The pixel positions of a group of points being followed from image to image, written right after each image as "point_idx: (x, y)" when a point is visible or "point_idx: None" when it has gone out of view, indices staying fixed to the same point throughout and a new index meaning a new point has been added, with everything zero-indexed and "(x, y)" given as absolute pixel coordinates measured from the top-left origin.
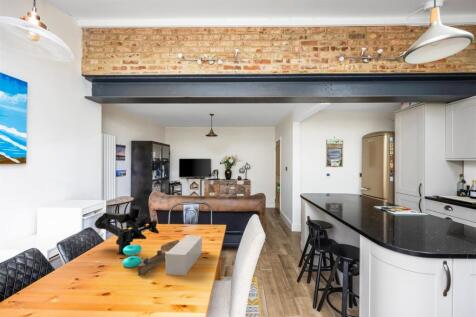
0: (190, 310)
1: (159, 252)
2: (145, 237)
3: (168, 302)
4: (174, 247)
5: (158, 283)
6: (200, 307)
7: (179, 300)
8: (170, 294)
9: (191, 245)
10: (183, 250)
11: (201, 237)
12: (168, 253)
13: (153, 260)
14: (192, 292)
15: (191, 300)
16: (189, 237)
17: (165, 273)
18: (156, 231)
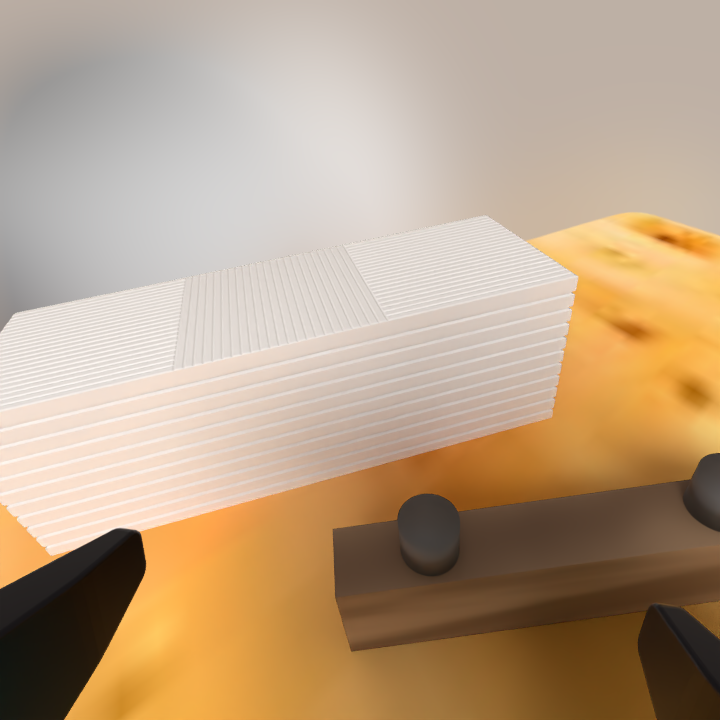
0: (663, 223)
1: (447, 504)
2: (689, 614)
3: (713, 268)
4: (400, 308)
5: (672, 373)
6: (623, 218)
7: (662, 256)
8: (671, 289)
9: (291, 263)
10: (423, 246)
11: (37, 311)
12: (555, 267)
13: (587, 499)
14: (579, 257)
15: (621, 240)
16: (30, 367)
17: (551, 414)
18: (81, 612)
